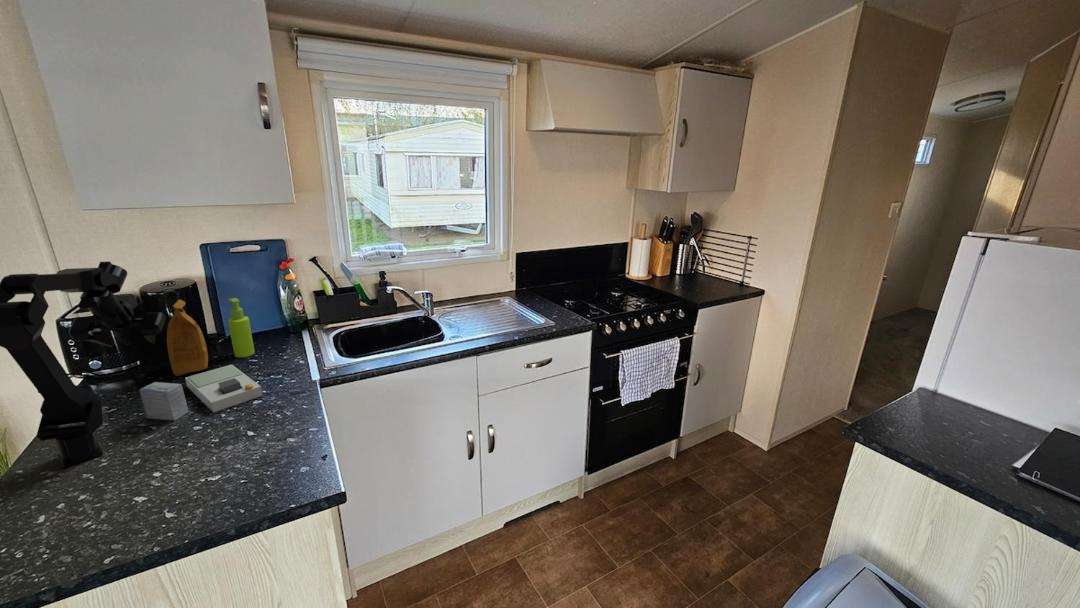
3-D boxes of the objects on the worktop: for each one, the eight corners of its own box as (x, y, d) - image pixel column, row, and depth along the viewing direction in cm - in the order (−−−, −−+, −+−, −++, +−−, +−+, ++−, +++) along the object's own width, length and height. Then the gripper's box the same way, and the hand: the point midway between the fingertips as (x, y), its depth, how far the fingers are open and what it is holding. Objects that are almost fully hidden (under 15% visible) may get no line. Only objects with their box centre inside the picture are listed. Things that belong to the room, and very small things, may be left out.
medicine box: (189, 412, 116) (182, 383, 113) (174, 421, 112) (166, 391, 109) (162, 410, 117) (154, 381, 114) (146, 419, 112) (138, 389, 110)
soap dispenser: (250, 348, 156) (240, 295, 151) (257, 353, 152) (247, 299, 146) (231, 353, 152) (220, 299, 146) (238, 359, 148) (227, 303, 142)
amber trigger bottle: (212, 357, 148) (199, 296, 142) (210, 371, 138) (196, 306, 132) (175, 363, 143) (159, 300, 137) (170, 378, 133) (153, 311, 127)
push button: (241, 392, 124) (239, 382, 123) (225, 397, 121) (223, 387, 120) (236, 388, 126) (234, 378, 125) (220, 393, 123) (218, 383, 122)
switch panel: (262, 395, 125) (260, 383, 124) (213, 412, 116) (210, 399, 115) (233, 373, 138) (231, 362, 137) (187, 386, 129) (184, 375, 128)
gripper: (159, 282, 118) (181, 319, 130) (70, 286, 112) (101, 324, 123) (147, 313, 112) (171, 349, 123) (52, 319, 105) (86, 356, 116)
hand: (133, 344), depth 121 cm, fingers open, 9 cm apart
